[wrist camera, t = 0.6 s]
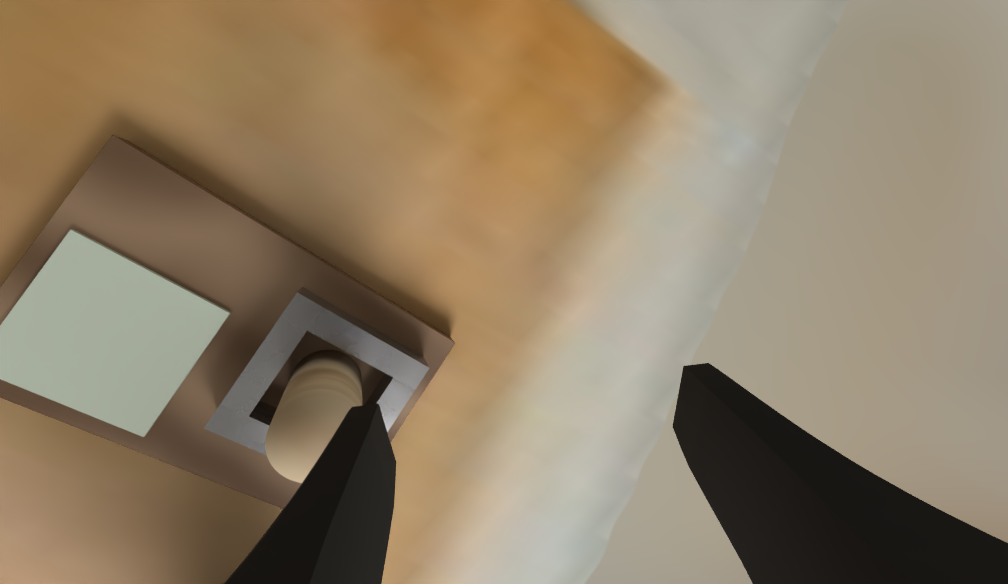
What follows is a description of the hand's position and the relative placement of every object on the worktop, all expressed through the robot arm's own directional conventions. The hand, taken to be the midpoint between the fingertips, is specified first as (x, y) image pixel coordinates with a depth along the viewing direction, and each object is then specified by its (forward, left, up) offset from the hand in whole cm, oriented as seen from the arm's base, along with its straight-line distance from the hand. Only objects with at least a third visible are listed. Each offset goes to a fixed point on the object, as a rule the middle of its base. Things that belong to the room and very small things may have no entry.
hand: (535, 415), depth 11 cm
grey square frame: (-7, +2, -19) cm, 20 cm away
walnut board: (-8, +7, -20) cm, 23 cm away
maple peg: (-7, +2, -19) cm, 20 cm away
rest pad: (-10, +13, -19) cm, 25 cm away
